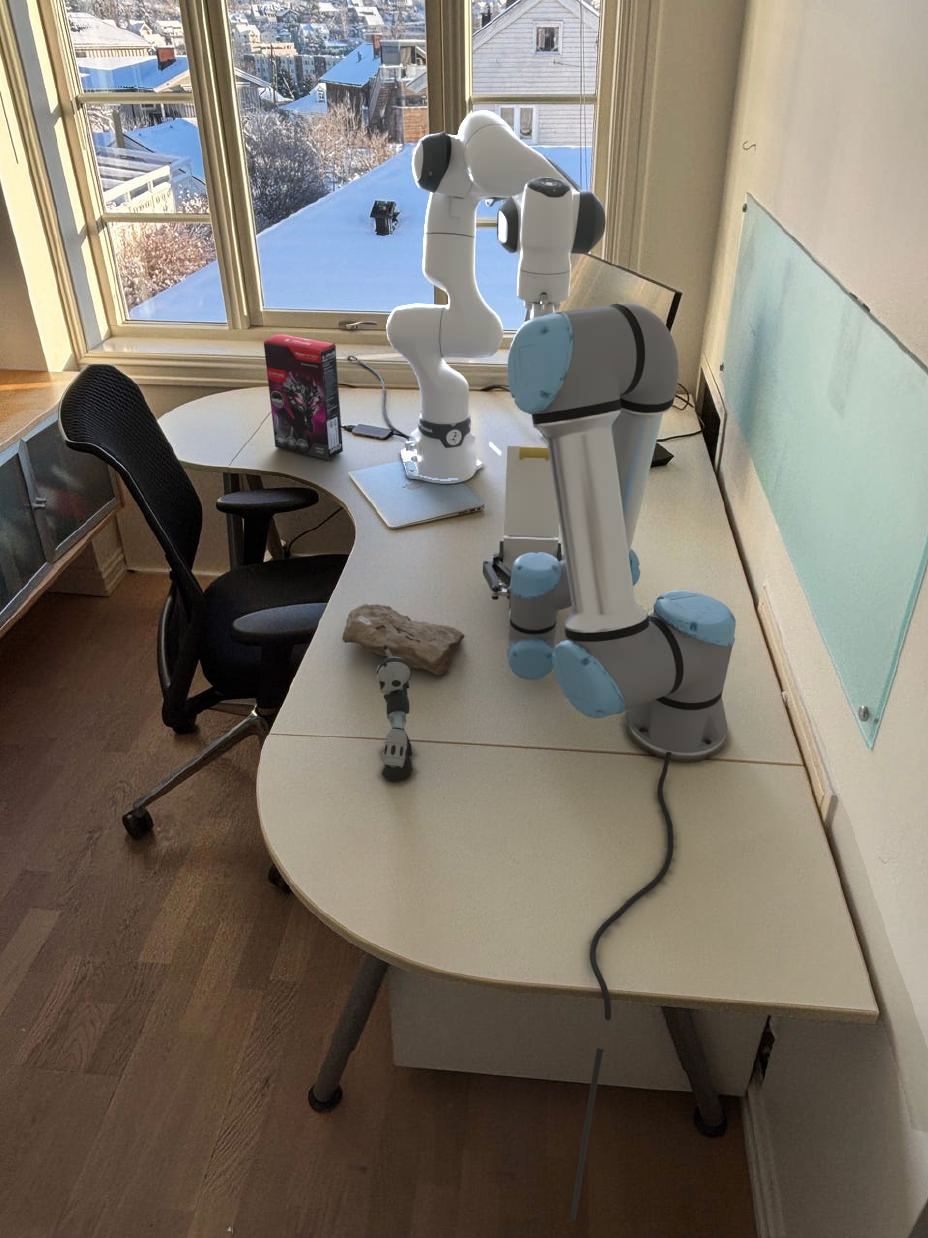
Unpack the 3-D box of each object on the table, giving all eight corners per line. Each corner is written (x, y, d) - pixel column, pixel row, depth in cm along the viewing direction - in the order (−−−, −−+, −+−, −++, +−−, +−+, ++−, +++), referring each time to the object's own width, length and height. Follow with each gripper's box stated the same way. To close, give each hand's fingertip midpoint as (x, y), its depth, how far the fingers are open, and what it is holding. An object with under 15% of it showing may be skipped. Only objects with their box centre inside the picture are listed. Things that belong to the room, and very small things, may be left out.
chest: (503, 546, 191) (505, 500, 185) (552, 547, 191) (556, 502, 185) (501, 586, 178) (503, 538, 172) (554, 588, 178) (558, 540, 172)
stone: (319, 650, 154) (325, 617, 152) (352, 620, 168) (359, 590, 165) (435, 691, 151) (444, 659, 148) (460, 657, 164) (468, 628, 162)
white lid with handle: (507, 447, 172) (507, 438, 164) (561, 448, 172) (564, 440, 163) (503, 535, 172) (503, 531, 164) (558, 537, 172) (561, 533, 163)
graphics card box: (273, 448, 231) (260, 339, 216) (289, 438, 236) (278, 332, 221) (329, 461, 225) (320, 351, 210) (345, 451, 230) (337, 342, 215)
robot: (414, 810, 128) (411, 698, 117) (379, 811, 128) (372, 699, 117) (414, 719, 145) (410, 613, 133) (382, 720, 144) (377, 613, 133)
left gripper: (564, 303, 146) (558, 387, 154) (560, 271, 163) (555, 349, 171) (524, 302, 146) (520, 386, 154) (524, 271, 163) (521, 348, 171)
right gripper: (599, 595, 156) (591, 532, 174) (464, 591, 156) (470, 529, 175) (595, 632, 160) (587, 567, 178) (464, 627, 161) (470, 563, 179)
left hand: (539, 366), depth 162 cm, fingers open, 8 cm apart
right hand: (529, 548), depth 177 cm, fingers closed on chest, 10 cm apart
